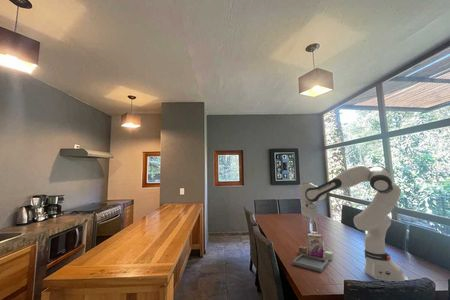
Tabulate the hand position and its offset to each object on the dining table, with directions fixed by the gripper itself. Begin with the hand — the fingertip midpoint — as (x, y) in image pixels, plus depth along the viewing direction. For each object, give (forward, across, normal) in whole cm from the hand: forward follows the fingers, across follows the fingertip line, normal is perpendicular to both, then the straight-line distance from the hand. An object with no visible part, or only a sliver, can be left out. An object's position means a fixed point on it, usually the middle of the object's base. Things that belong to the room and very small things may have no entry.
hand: (309, 222), depth 156 cm
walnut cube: (+30, -20, +1) cm, 36 cm away
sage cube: (+30, -7, +17) cm, 35 cm away
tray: (+30, +1, -1) cm, 30 cm away
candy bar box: (+30, -14, +10) cm, 34 cm away
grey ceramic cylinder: (+30, -24, +20) cm, 43 cm away
